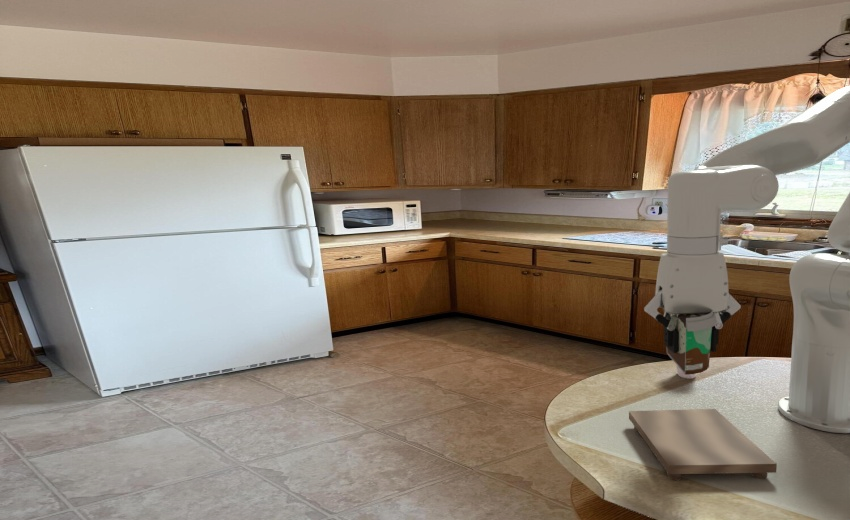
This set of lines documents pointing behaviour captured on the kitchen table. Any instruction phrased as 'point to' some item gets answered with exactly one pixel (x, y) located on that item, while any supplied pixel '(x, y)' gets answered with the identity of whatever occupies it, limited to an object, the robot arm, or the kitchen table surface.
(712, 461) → the tan square plate
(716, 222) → the robot arm
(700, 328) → the food container
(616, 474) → the kitchen table surface
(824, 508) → the kitchen table surface
